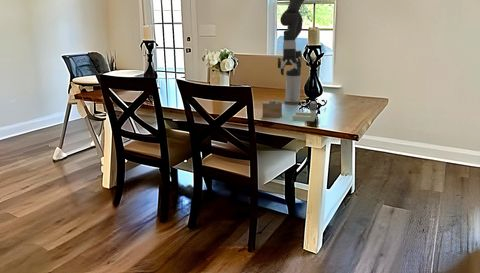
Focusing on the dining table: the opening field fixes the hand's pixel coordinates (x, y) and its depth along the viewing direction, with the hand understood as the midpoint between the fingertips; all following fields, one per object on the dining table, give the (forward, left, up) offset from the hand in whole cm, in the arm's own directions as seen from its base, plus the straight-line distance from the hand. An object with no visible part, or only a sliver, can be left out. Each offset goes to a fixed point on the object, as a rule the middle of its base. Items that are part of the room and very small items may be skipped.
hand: (289, 75), depth 253 cm
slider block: (+27, -4, -20) cm, 34 cm away
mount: (+27, +14, -20) cm, 36 cm away
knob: (+30, +19, -14) cm, 38 cm away
